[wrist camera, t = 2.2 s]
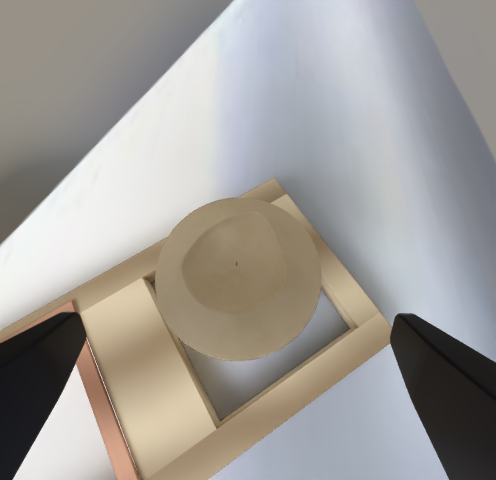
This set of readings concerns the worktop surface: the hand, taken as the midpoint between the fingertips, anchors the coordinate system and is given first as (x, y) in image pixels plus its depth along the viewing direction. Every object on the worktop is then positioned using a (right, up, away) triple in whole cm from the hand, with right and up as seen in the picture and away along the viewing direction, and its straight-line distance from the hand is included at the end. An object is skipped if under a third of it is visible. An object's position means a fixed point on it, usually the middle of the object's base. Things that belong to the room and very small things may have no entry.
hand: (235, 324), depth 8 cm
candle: (0, -2, +9) cm, 10 cm away
